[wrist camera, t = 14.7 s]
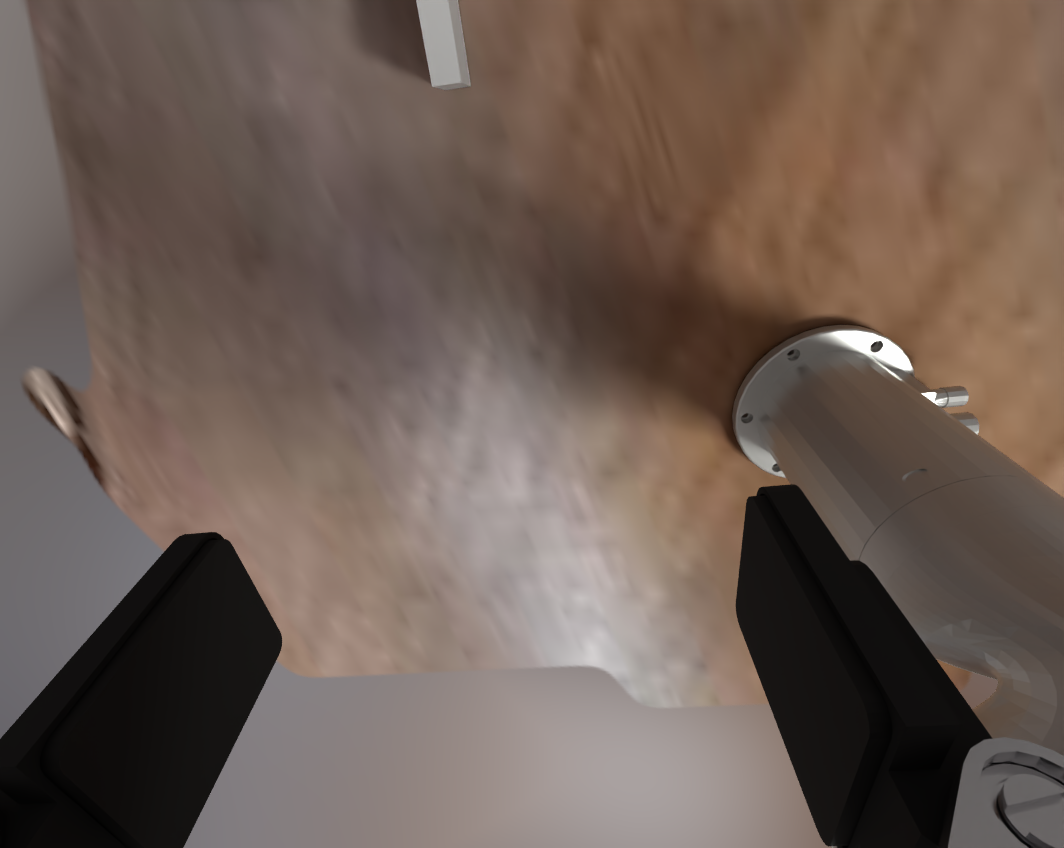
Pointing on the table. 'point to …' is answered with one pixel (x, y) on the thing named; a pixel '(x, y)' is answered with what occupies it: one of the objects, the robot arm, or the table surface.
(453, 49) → the low wall
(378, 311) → the table surface
